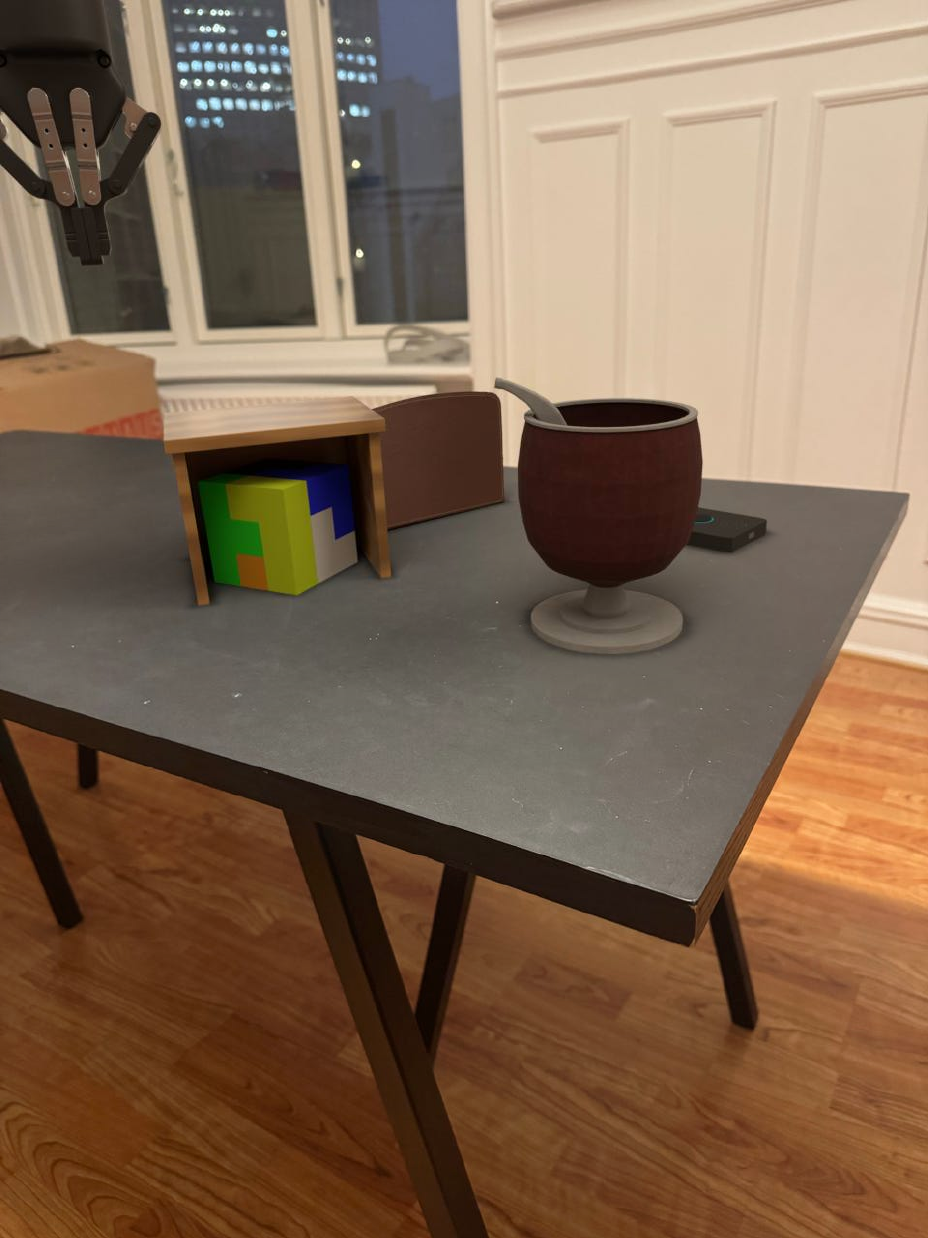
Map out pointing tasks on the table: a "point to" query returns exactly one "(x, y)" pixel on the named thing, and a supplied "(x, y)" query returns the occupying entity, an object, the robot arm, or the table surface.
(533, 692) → the table surface
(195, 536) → the shelf
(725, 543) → the smart home device
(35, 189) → the robot arm
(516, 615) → the table surface
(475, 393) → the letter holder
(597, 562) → the mate gourd
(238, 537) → the puzzle toy
